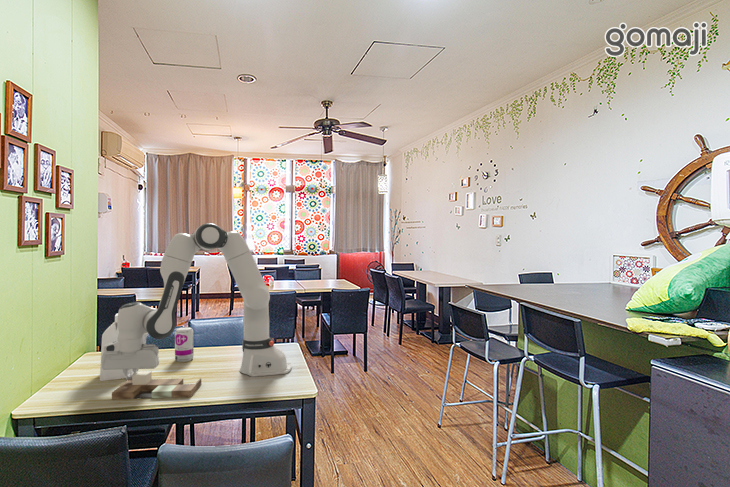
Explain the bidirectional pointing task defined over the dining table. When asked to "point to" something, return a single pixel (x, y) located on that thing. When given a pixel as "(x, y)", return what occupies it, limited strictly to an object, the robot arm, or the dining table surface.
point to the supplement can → (183, 344)
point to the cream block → (142, 378)
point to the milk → (107, 338)
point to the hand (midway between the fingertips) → (130, 380)
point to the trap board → (156, 389)
